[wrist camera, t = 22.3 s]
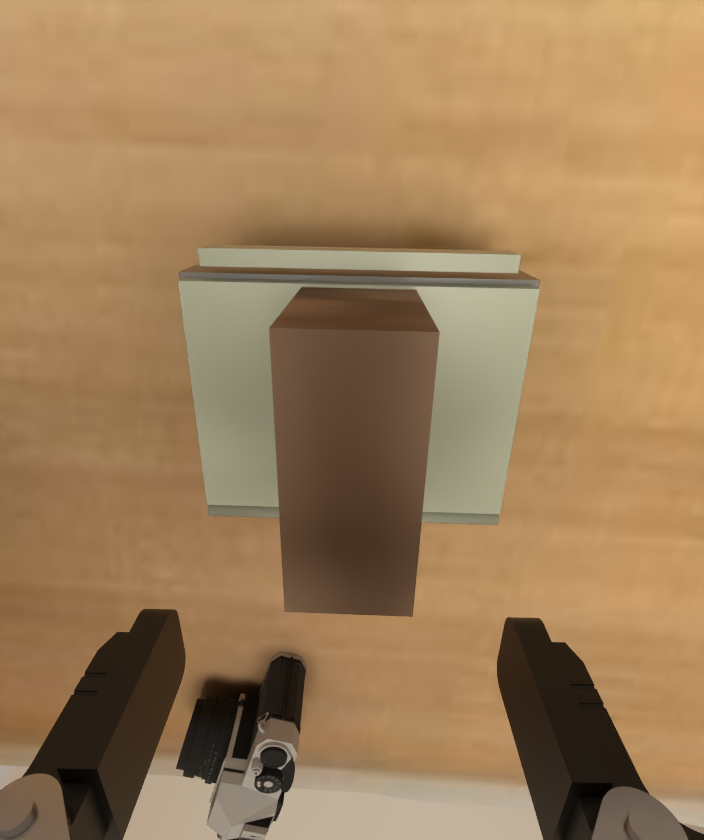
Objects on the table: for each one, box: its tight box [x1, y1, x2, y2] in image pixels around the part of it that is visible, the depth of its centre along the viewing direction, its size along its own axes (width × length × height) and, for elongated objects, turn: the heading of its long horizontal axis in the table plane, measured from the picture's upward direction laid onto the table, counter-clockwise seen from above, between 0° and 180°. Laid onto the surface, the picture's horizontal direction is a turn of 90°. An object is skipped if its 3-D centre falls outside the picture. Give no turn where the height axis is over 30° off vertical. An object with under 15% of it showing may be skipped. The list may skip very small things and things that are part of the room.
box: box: [179, 264, 540, 289], centre depth 22 cm, size 13×10×7 cm
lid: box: [178, 244, 540, 525], centre depth 19 cm, size 13×11×2 cm
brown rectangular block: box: [269, 287, 440, 617], centre depth 16 cm, size 4×9×6 cm, turn 179°
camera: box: [176, 652, 306, 840], centre depth 34 cm, size 13×8×9 cm, turn 164°
